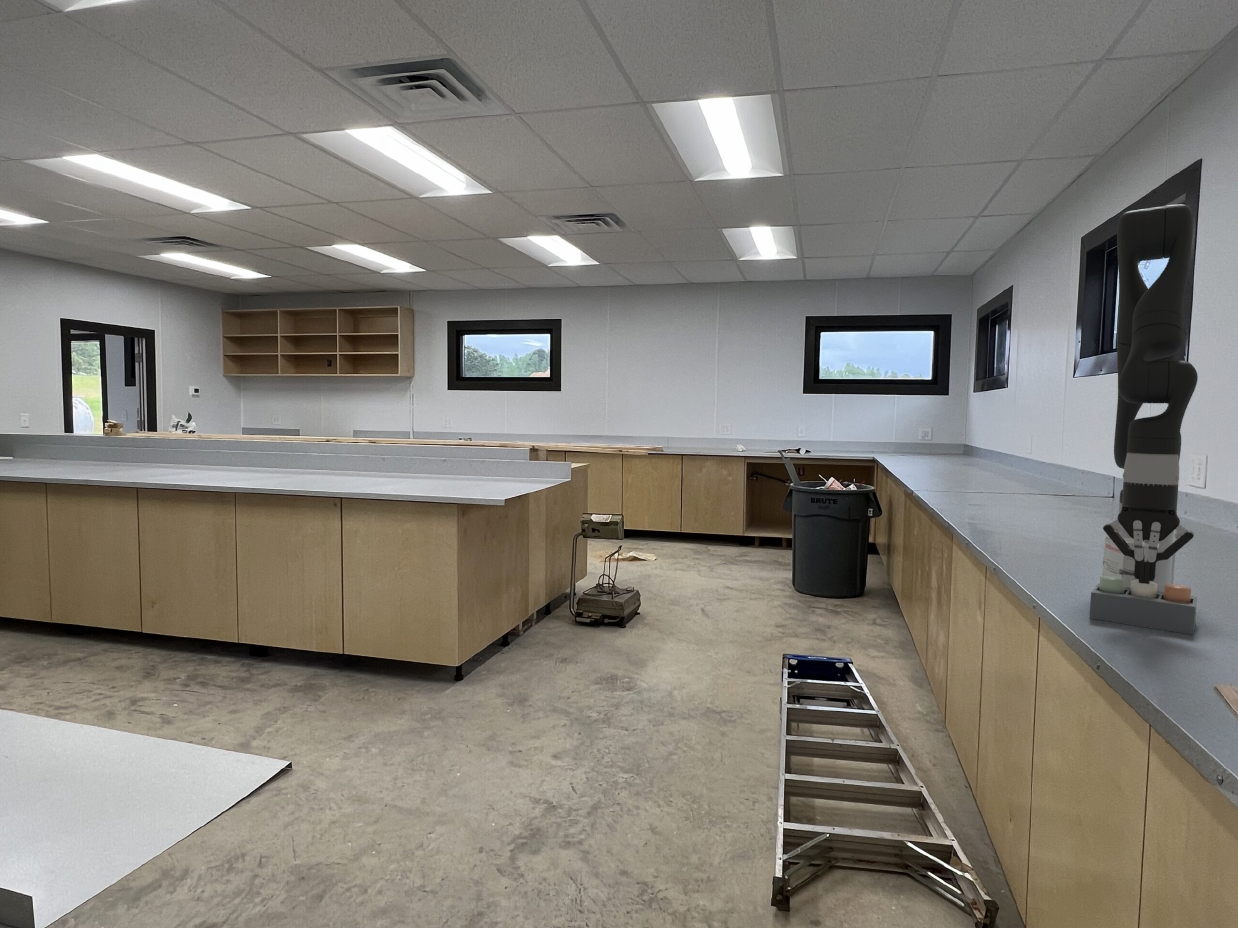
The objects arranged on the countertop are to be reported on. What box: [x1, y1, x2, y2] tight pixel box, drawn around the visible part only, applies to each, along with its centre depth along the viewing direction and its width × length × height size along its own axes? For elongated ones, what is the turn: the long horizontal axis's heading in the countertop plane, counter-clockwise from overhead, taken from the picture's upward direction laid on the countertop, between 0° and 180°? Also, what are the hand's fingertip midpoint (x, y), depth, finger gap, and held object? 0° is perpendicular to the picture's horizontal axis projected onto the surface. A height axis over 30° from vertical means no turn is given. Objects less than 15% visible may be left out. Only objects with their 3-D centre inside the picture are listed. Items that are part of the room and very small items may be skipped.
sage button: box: [1099, 575, 1125, 594], centre depth 127 cm, size 4×4×3 cm
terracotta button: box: [1163, 584, 1192, 603], centre depth 121 cm, size 4×4×3 cm
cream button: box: [1130, 580, 1157, 598], centre depth 124 cm, size 4×4×3 cm
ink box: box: [1101, 535, 1149, 588], centre depth 137 cm, size 9×5×12 cm, turn 168°
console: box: [1089, 583, 1198, 635], centre depth 125 cm, size 9×14×4 cm, turn 50°
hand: (1144, 582), depth 124 cm, fingers closed
